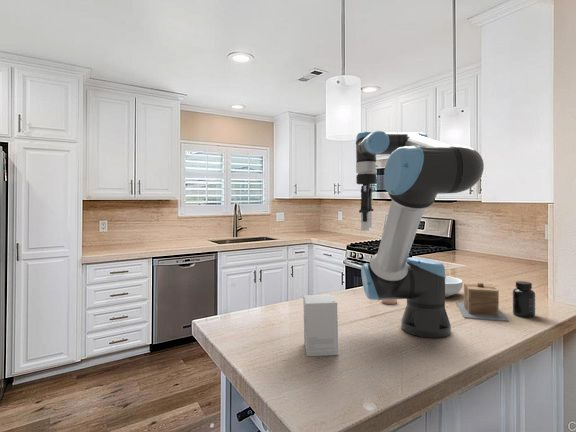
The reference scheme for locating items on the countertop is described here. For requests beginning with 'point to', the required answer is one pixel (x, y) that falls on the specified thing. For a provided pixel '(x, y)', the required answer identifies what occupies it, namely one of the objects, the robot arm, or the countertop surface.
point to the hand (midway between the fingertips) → (366, 229)
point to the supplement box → (320, 325)
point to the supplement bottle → (524, 300)
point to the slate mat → (478, 316)
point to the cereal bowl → (452, 286)
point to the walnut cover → (481, 299)
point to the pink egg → (390, 301)
